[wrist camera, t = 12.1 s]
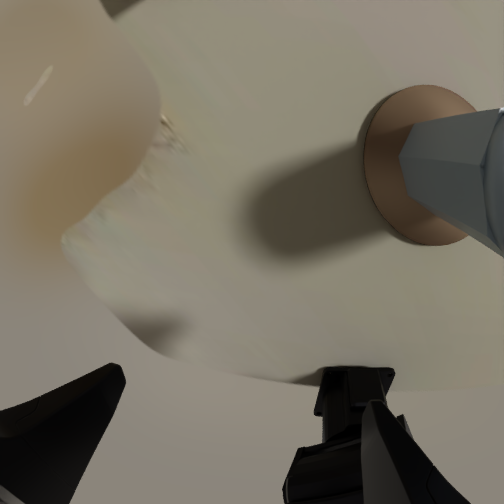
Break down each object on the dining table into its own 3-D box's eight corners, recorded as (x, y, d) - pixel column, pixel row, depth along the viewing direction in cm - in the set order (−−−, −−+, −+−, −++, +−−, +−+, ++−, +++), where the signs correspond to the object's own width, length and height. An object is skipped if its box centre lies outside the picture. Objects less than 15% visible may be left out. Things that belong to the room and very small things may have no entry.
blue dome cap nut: (482, 201, 15) (578, 246, 6) (412, 222, 16) (497, 290, 7) (464, 114, 13) (566, 105, 4) (390, 128, 15) (478, 110, 6)
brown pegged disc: (483, 248, 16) (507, 265, 13) (356, 236, 18) (367, 255, 15) (494, 108, 13) (522, 105, 9) (363, 72, 14) (376, 56, 11)
